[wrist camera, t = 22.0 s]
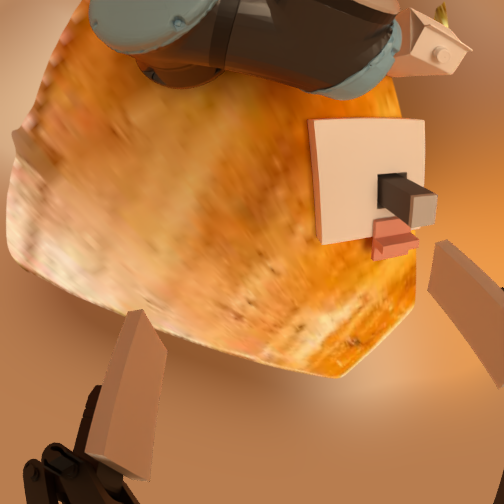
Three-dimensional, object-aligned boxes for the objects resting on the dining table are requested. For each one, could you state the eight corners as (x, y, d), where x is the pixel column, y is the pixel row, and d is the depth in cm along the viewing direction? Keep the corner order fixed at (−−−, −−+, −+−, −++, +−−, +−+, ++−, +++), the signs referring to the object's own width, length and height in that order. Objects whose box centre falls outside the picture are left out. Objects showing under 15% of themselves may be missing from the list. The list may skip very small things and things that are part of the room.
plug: (372, 173, 43) (413, 197, 32) (393, 172, 43) (437, 194, 32) (372, 198, 45) (411, 228, 34) (393, 195, 45) (434, 224, 34)
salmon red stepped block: (373, 219, 43) (384, 229, 40) (409, 214, 43) (421, 223, 40) (371, 258, 47) (380, 270, 43) (404, 251, 47) (415, 262, 43)
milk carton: (359, 29, 31) (428, 0, 14) (395, 42, 32) (471, 27, 15) (357, 66, 34) (430, 51, 18) (393, 77, 35) (473, 75, 19)
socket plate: (307, 119, 39) (313, 120, 36) (412, 118, 39) (424, 120, 36) (316, 235, 48) (322, 245, 45) (410, 221, 48) (420, 228, 45)
